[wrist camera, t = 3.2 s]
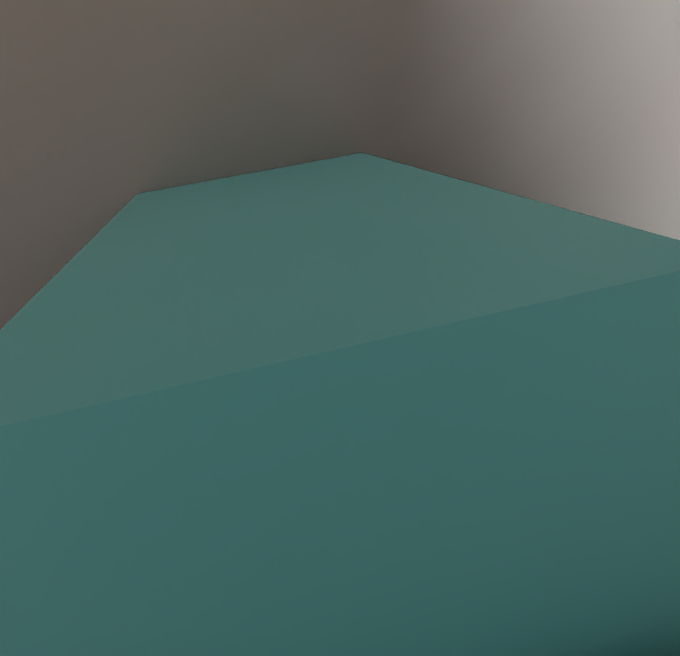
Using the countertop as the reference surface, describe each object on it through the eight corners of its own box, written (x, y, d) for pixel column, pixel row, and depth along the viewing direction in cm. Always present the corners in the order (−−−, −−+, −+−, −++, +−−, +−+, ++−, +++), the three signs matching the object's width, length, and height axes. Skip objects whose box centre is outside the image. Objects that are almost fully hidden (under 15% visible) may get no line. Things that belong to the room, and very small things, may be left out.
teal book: (137, 193, 11) (-128, 455, 3) (360, 152, 11) (739, 256, 3) (257, 602, 15) (303, 1196, 7) (415, 557, 16) (635, 1053, 7)
